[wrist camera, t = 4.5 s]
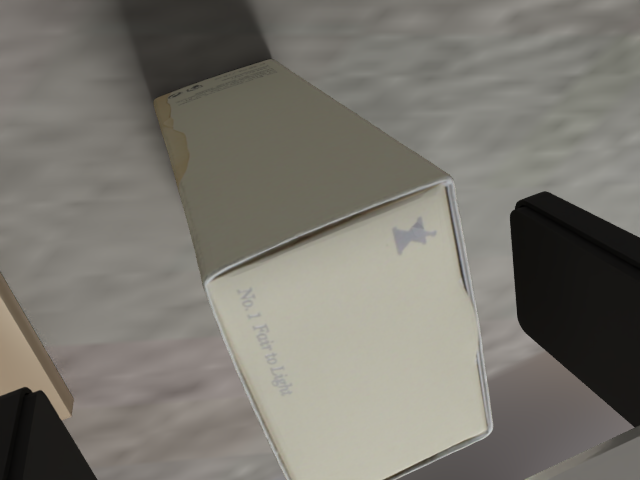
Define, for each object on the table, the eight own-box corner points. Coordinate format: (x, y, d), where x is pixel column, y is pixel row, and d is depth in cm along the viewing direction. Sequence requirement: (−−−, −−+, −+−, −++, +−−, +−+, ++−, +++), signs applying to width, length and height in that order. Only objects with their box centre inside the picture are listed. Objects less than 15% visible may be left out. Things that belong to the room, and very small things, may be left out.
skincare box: (149, 96, 19) (178, 266, 8) (278, 53, 19) (458, 159, 9) (215, 257, 22) (298, 532, 11) (325, 216, 22) (501, 439, 12)
